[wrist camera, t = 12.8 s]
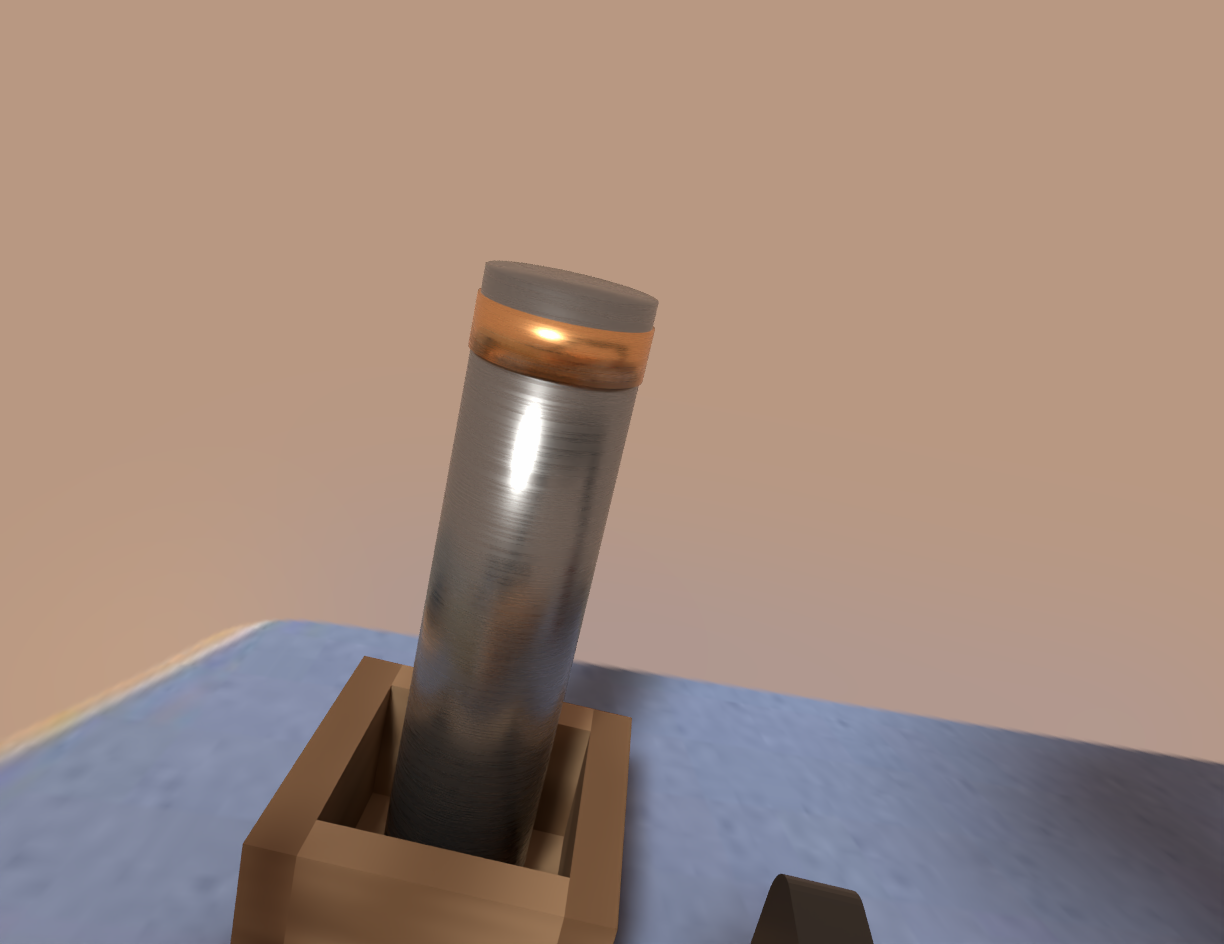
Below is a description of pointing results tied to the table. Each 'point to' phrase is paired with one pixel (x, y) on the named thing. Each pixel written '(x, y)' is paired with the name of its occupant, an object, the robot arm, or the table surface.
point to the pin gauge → (516, 552)
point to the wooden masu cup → (421, 874)
